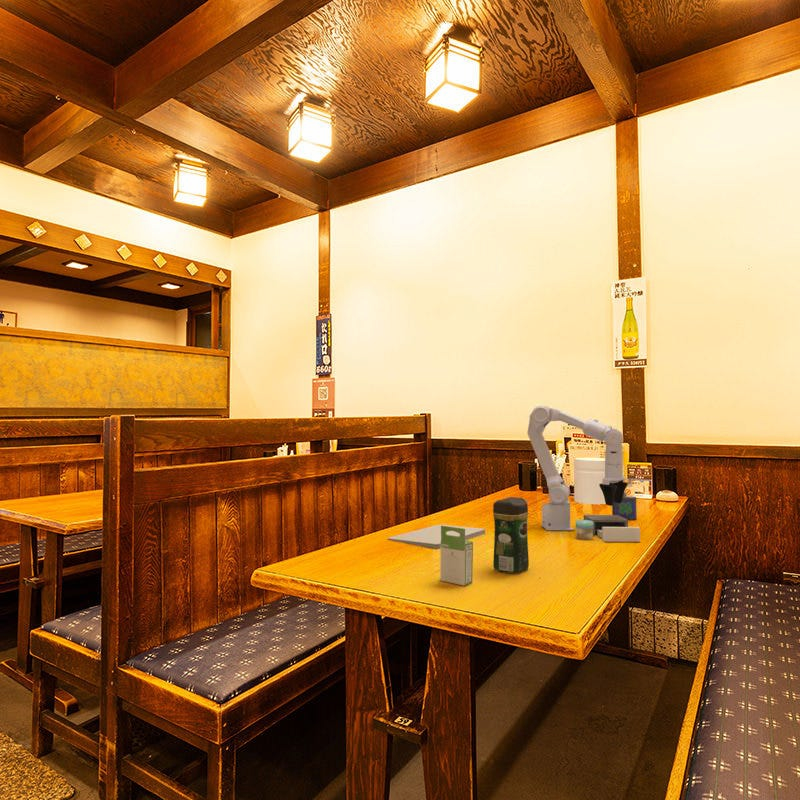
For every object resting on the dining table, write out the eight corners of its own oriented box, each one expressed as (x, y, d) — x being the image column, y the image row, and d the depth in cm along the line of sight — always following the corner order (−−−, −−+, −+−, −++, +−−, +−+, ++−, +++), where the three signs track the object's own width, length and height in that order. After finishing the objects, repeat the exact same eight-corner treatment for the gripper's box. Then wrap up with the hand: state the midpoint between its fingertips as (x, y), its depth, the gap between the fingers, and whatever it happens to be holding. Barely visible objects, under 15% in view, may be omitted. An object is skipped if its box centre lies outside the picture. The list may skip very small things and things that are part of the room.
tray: (603, 541, 172) (603, 527, 172) (593, 535, 181) (593, 521, 181) (640, 541, 171) (639, 527, 172) (628, 535, 180) (628, 522, 181)
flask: (635, 519, 211) (635, 491, 211) (638, 520, 208) (637, 492, 208) (611, 518, 211) (610, 491, 211) (613, 520, 208) (613, 492, 208)
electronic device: (437, 550, 161) (437, 544, 162) (386, 540, 174) (386, 534, 174) (486, 534, 184) (486, 529, 184) (438, 527, 196) (438, 521, 196)
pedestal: (580, 539, 175) (580, 528, 175) (576, 536, 179) (576, 526, 179) (592, 539, 175) (592, 528, 175) (588, 536, 179) (588, 526, 179)
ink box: (473, 582, 129) (473, 526, 130) (464, 586, 126) (464, 529, 127) (448, 577, 134) (448, 522, 134) (439, 581, 130) (440, 525, 131)
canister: (586, 498, 264) (585, 457, 264) (617, 502, 252) (616, 459, 252) (567, 501, 253) (567, 458, 254) (599, 506, 241) (598, 461, 242)
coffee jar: (505, 563, 147) (505, 494, 147) (532, 568, 142) (532, 497, 143) (488, 570, 139) (488, 498, 140) (516, 576, 134) (516, 501, 135)
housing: (592, 535, 181) (592, 519, 182) (583, 529, 190) (583, 514, 191) (628, 535, 181) (628, 519, 181) (617, 529, 190) (617, 515, 190)
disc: (578, 529, 174) (578, 522, 174) (573, 525, 180) (573, 519, 180) (595, 529, 174) (595, 523, 174) (590, 525, 180) (590, 519, 180)
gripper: (617, 466, 177) (617, 508, 177) (633, 463, 188) (633, 503, 188) (596, 464, 182) (596, 505, 182) (613, 462, 193) (613, 500, 192)
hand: (613, 504), depth 185 cm, fingers open, 7 cm apart
